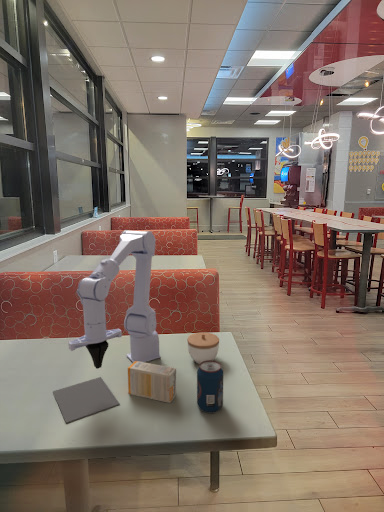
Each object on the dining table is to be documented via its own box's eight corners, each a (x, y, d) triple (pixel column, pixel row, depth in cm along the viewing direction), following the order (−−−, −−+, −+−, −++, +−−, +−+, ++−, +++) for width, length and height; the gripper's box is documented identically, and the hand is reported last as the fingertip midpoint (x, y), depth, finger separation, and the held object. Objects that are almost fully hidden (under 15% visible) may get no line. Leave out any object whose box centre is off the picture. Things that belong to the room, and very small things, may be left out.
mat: (100, 377, 106) (100, 376, 106) (119, 404, 93) (119, 403, 93) (52, 392, 98) (52, 391, 98) (66, 423, 85) (66, 422, 85)
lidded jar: (185, 366, 112) (184, 340, 111) (190, 351, 123) (190, 327, 121) (217, 369, 111) (217, 342, 109) (220, 353, 121) (220, 328, 119)
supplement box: (136, 385, 102) (176, 394, 97) (127, 394, 97) (170, 404, 93) (135, 359, 100) (177, 367, 96) (127, 367, 96) (170, 376, 92)
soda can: (197, 398, 95) (197, 358, 93) (222, 399, 95) (222, 359, 93) (196, 414, 88) (196, 372, 86) (223, 415, 88) (224, 372, 86)
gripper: (113, 311, 101) (115, 353, 103) (63, 322, 92) (67, 368, 95) (124, 318, 95) (126, 363, 98) (72, 331, 87) (75, 379, 89)
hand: (97, 366), depth 96 cm, fingers closed
